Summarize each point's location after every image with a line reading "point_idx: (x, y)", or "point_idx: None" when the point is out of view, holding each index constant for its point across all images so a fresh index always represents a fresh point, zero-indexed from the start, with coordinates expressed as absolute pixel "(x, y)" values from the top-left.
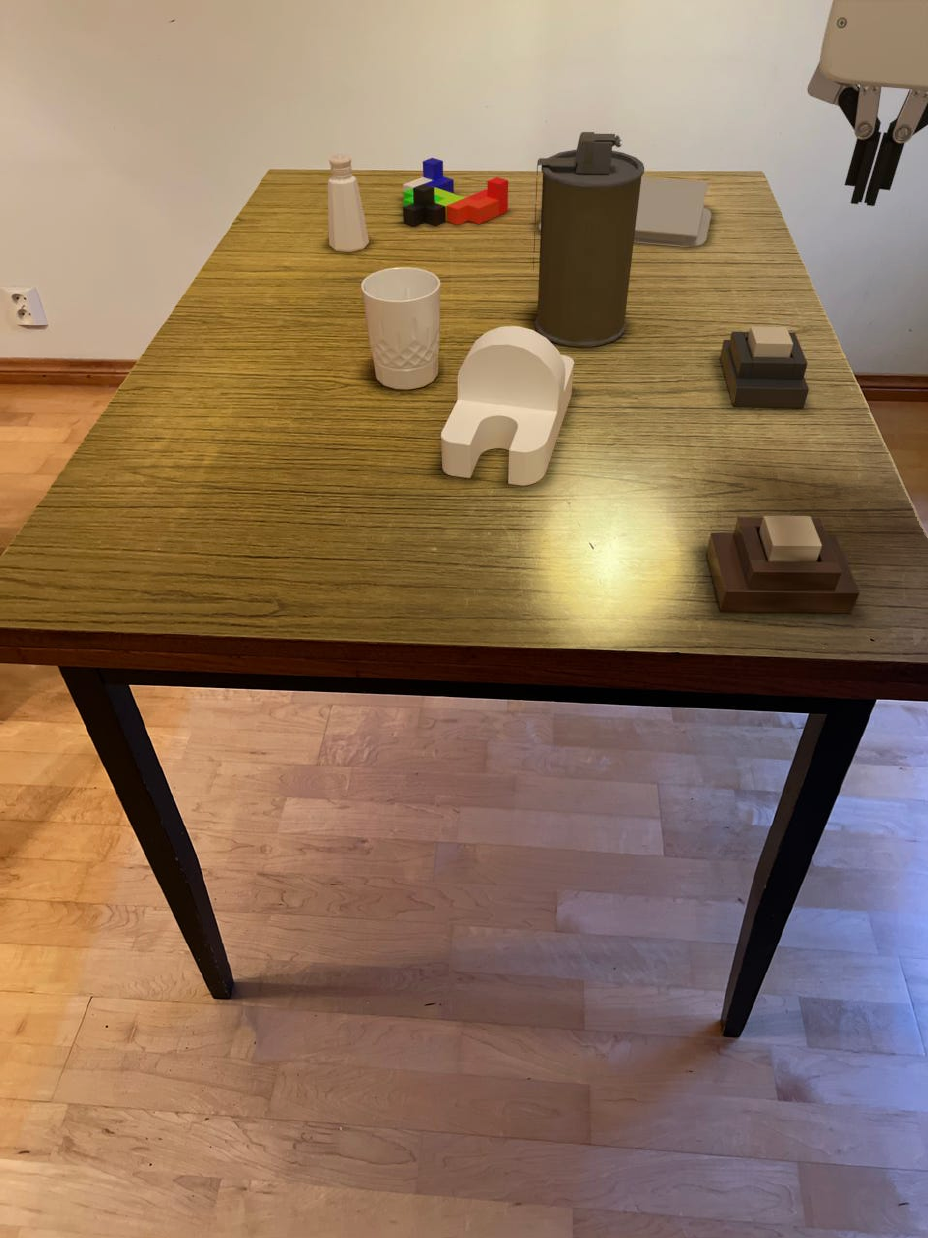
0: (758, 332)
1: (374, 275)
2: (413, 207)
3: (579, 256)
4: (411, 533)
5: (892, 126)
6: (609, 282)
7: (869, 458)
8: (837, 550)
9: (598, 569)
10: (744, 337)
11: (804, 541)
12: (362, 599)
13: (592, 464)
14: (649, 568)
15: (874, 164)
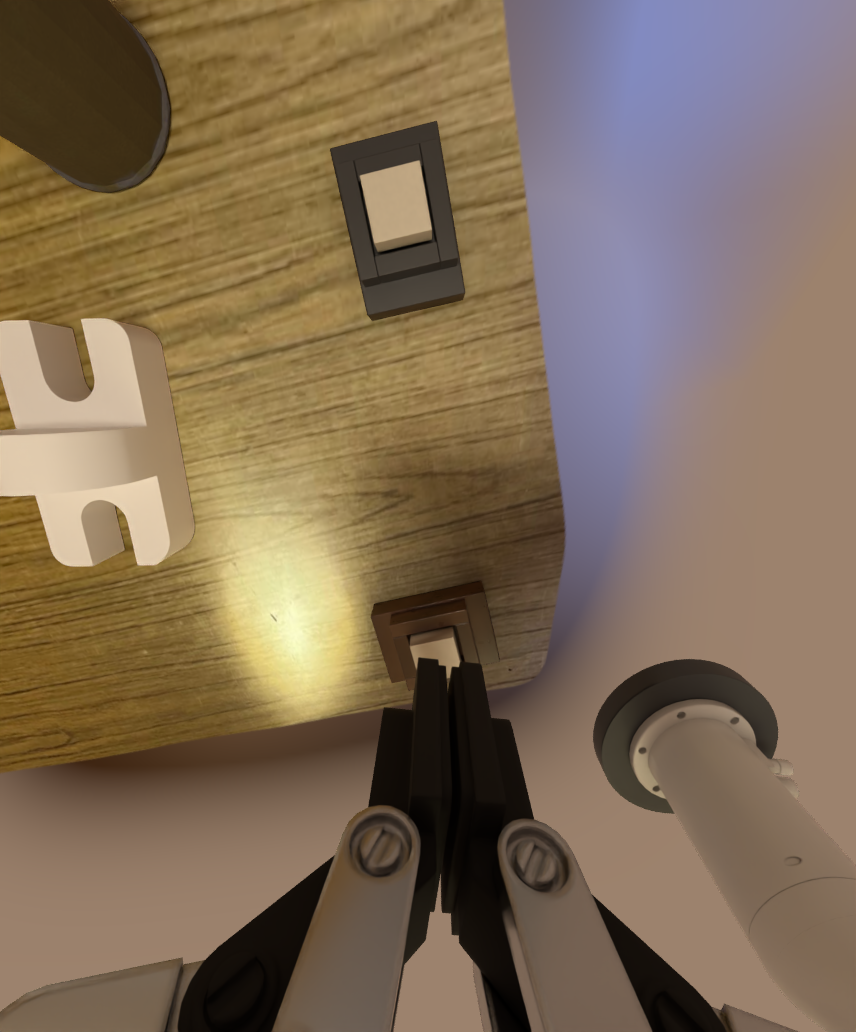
0: (374, 199)
1: None
2: None
3: None
4: (115, 638)
5: (473, 945)
6: (66, 98)
7: (536, 403)
8: (484, 614)
9: (288, 644)
10: (357, 184)
11: (447, 674)
12: (122, 715)
13: (236, 494)
14: (329, 633)
15: (454, 718)
